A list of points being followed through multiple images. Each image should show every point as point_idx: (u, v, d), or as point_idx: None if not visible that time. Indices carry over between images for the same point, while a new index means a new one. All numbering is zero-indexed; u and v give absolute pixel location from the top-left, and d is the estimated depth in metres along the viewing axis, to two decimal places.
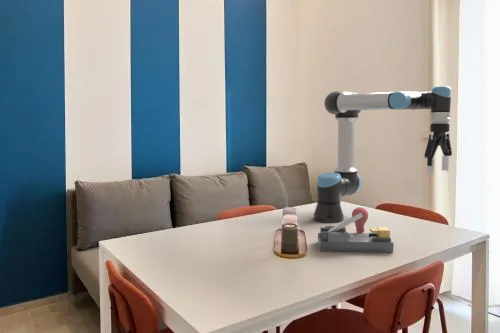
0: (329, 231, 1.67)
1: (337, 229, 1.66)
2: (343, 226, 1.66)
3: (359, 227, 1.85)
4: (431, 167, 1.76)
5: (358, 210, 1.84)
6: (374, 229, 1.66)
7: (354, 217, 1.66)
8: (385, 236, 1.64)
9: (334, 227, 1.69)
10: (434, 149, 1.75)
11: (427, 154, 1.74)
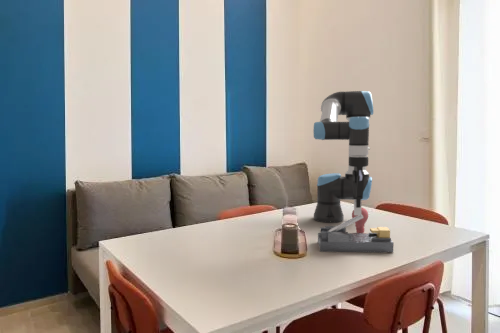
0: (329, 231, 1.67)
1: (337, 229, 1.66)
2: (343, 227, 1.66)
3: (359, 227, 1.85)
4: (359, 208, 1.65)
5: None
6: (374, 229, 1.66)
7: (355, 218, 1.66)
8: (385, 236, 1.64)
9: (334, 227, 1.69)
10: None
11: (359, 196, 1.62)
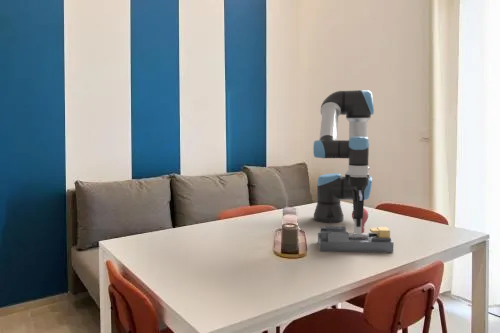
0: None
1: None
2: None
3: None
4: (359, 228, 1.66)
5: None
6: (374, 229, 1.66)
7: None
8: (385, 236, 1.64)
9: None
10: None
11: (359, 216, 1.62)
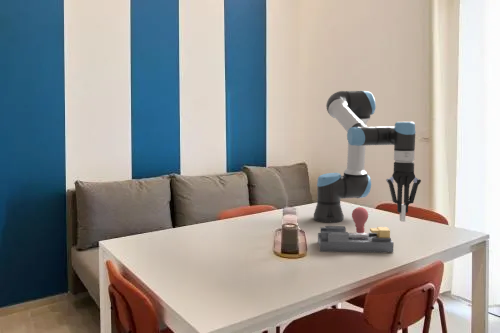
0: None
1: None
2: None
3: (359, 227, 1.85)
4: (401, 214, 1.64)
5: (358, 210, 1.84)
6: (374, 229, 1.66)
7: (360, 234, 1.67)
8: (385, 236, 1.64)
9: None
10: (398, 194, 1.63)
11: (393, 200, 1.64)
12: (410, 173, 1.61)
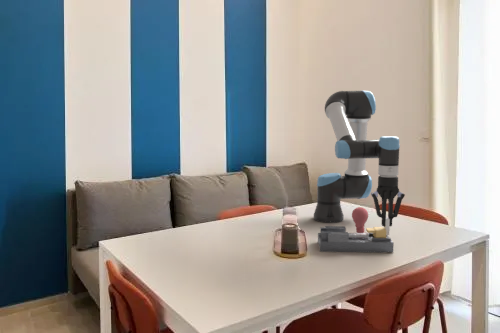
0: None
1: None
2: None
3: (359, 227, 1.85)
4: (385, 228, 1.66)
5: (358, 210, 1.84)
6: (370, 229, 1.66)
7: (360, 234, 1.67)
8: (381, 236, 1.64)
9: None
10: (383, 208, 1.64)
11: (377, 214, 1.66)
12: (394, 187, 1.63)
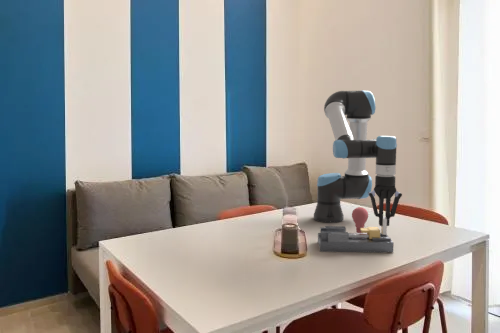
0: None
1: None
2: None
3: (359, 227, 1.85)
4: (382, 227, 1.65)
5: (358, 210, 1.84)
6: (364, 229, 1.67)
7: (360, 234, 1.67)
8: (375, 236, 1.64)
9: None
10: (380, 208, 1.64)
11: (374, 214, 1.66)
12: (391, 187, 1.63)
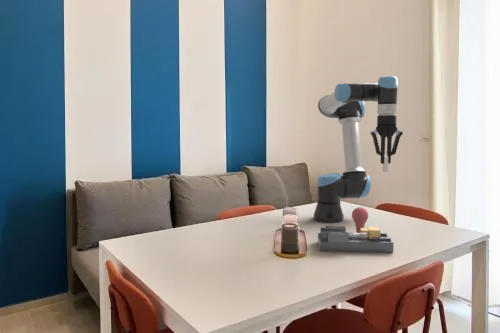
0: None
1: None
2: None
3: (359, 227, 1.85)
4: (383, 165, 1.74)
5: (358, 210, 1.84)
6: (364, 229, 1.67)
7: (360, 234, 1.67)
8: (375, 236, 1.64)
9: None
10: (381, 146, 1.72)
11: (376, 152, 1.74)
12: (392, 126, 1.71)
